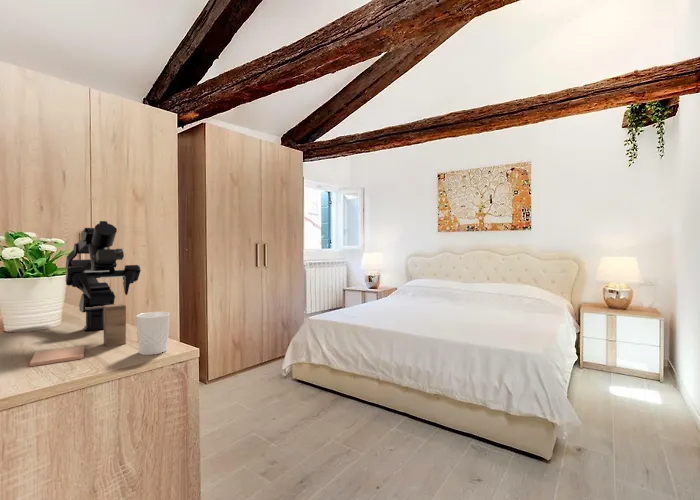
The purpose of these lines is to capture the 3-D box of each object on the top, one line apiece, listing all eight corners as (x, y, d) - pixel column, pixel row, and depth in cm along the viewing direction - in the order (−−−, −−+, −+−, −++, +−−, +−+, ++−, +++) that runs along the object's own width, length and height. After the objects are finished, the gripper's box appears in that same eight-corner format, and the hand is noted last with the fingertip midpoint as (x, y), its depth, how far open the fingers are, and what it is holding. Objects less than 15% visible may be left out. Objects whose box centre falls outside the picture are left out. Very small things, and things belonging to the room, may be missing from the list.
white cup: (144, 358, 89) (144, 318, 89) (131, 352, 94) (131, 314, 94) (175, 350, 95) (175, 314, 95) (161, 345, 100) (161, 310, 100)
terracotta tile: (35, 355, 90) (35, 351, 90) (84, 348, 96) (84, 345, 96) (29, 366, 82) (29, 363, 82) (83, 358, 88) (83, 355, 88)
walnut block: (103, 343, 101) (103, 305, 101) (121, 340, 104) (121, 303, 104) (107, 346, 98) (107, 307, 98) (125, 343, 101) (125, 305, 101)
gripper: (66, 239, 102) (72, 280, 95) (139, 240, 116) (149, 276, 108) (63, 265, 108) (68, 305, 101) (132, 263, 121) (141, 298, 114)
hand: (109, 295), depth 106 cm, fingers open, 9 cm apart
